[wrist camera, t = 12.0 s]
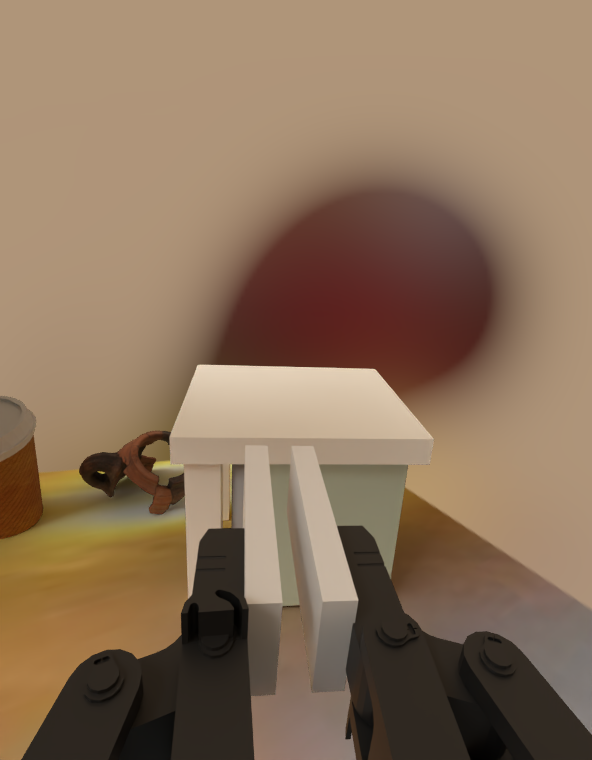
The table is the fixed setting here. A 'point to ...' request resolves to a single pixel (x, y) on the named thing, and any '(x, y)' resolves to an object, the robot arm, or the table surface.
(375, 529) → the panel
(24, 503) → the disposable coffee cup
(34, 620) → the table surface
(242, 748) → the robot arm
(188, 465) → the stool
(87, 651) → the table surface
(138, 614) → the table surface
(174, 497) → the brown curved piece
